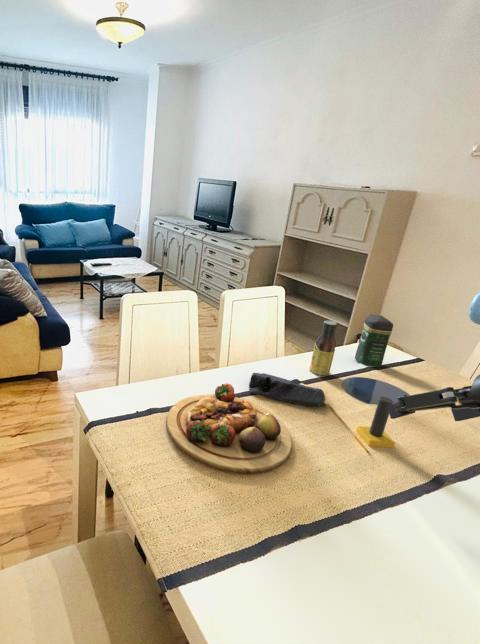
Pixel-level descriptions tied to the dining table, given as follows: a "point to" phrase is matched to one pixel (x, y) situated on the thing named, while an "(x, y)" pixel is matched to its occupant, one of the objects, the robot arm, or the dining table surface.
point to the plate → (371, 390)
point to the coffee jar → (373, 340)
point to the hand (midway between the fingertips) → (422, 413)
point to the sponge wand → (377, 427)
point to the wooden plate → (229, 433)
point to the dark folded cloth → (285, 390)
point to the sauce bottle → (324, 350)
